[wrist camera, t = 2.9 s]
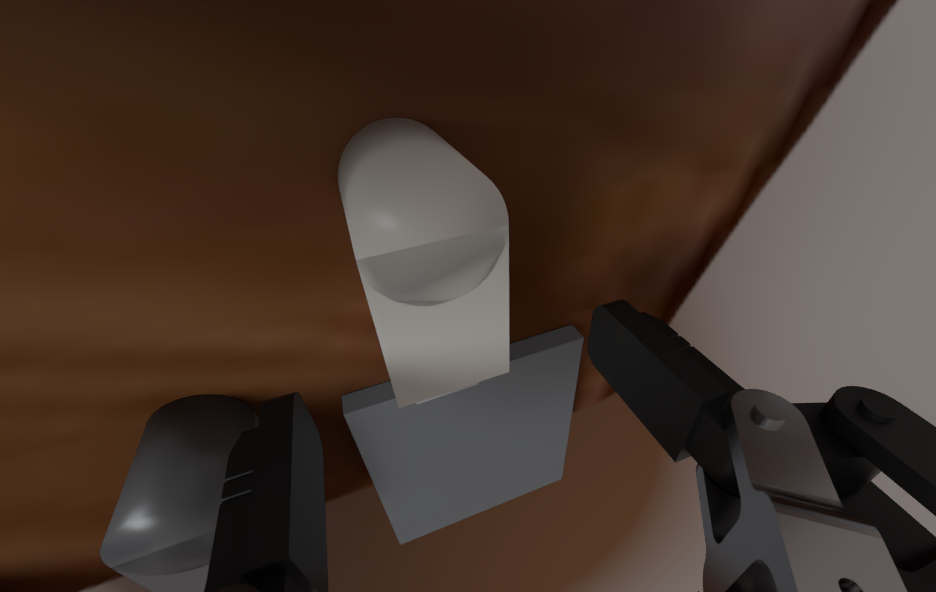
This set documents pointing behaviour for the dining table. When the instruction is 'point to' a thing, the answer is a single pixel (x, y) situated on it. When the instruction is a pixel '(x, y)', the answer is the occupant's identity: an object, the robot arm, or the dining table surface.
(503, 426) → the felt pad
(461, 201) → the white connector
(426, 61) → the dining table surface
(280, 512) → the robot arm
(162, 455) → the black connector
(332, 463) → the dining table surface
